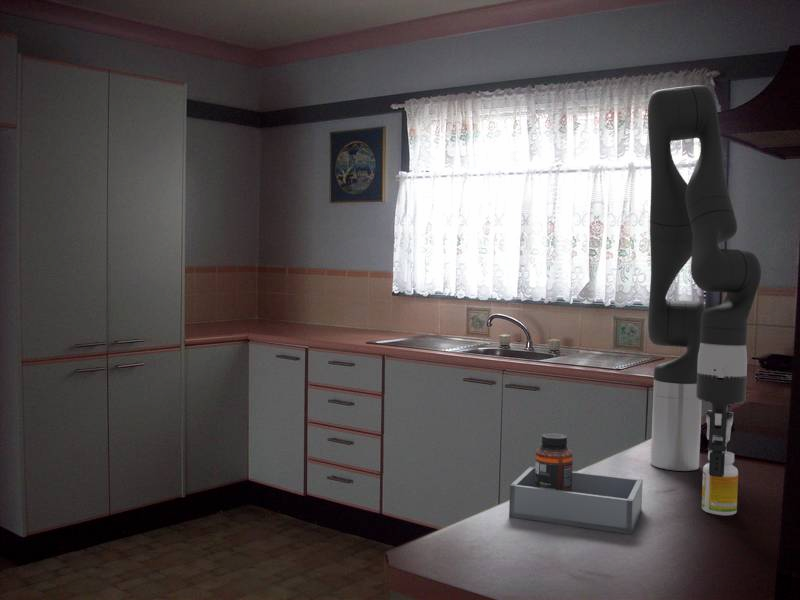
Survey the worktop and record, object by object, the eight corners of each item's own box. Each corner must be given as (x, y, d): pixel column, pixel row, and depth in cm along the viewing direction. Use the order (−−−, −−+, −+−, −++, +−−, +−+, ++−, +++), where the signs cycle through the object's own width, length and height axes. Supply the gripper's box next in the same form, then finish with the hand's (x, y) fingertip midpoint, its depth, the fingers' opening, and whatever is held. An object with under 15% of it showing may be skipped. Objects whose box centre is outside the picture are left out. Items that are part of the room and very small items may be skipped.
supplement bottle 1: (572, 501, 135) (575, 433, 135) (570, 511, 129) (572, 440, 129) (536, 497, 137) (538, 430, 136) (531, 507, 131) (534, 437, 131)
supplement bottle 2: (744, 514, 133) (746, 455, 133) (718, 517, 131) (720, 457, 131) (719, 505, 138) (722, 447, 138) (694, 508, 136) (696, 449, 136)
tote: (529, 495, 141) (530, 466, 141) (641, 509, 134) (642, 479, 134) (509, 516, 129) (510, 485, 128) (631, 534, 122) (632, 501, 121)
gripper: (699, 366, 141) (696, 459, 142) (694, 374, 128) (689, 477, 129) (747, 369, 138) (743, 464, 139) (746, 377, 125) (741, 483, 126)
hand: (717, 470), depth 134 cm, fingers open, 8 cm apart
